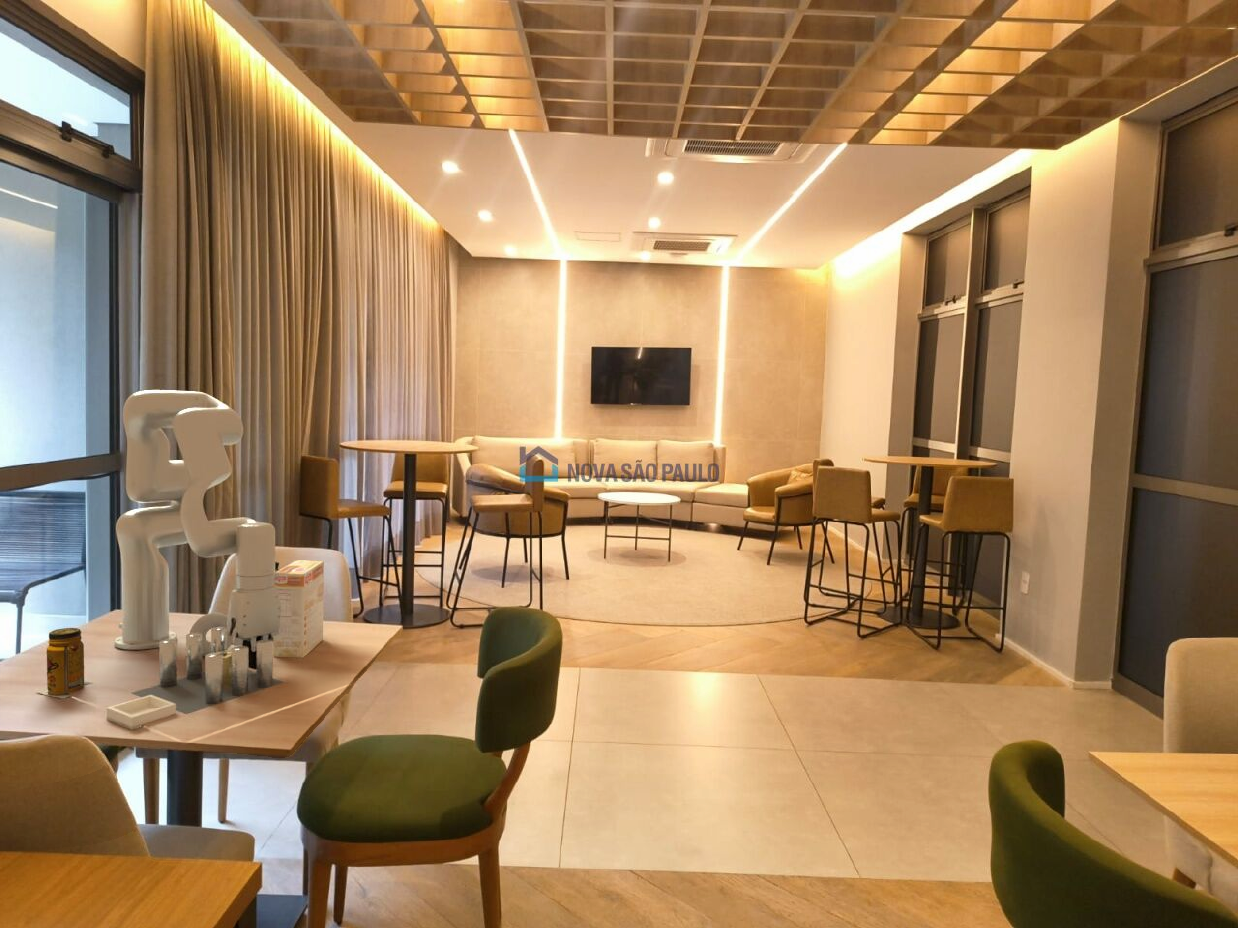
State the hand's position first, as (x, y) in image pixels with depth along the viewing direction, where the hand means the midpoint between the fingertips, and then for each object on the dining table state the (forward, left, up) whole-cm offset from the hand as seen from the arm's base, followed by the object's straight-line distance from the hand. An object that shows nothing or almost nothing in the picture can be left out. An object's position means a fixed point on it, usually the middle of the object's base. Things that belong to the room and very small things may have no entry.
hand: (255, 667), depth 173 cm
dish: (+3, -26, -2) cm, 26 cm away
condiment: (-21, -26, -2) cm, 33 cm away
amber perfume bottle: (0, -8, -1) cm, 8 cm away
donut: (-18, +2, -2) cm, 18 cm away
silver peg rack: (0, -9, -2) cm, 9 cm away
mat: (0, -10, -2) cm, 10 cm away
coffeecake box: (-8, +17, -2) cm, 19 cm away
